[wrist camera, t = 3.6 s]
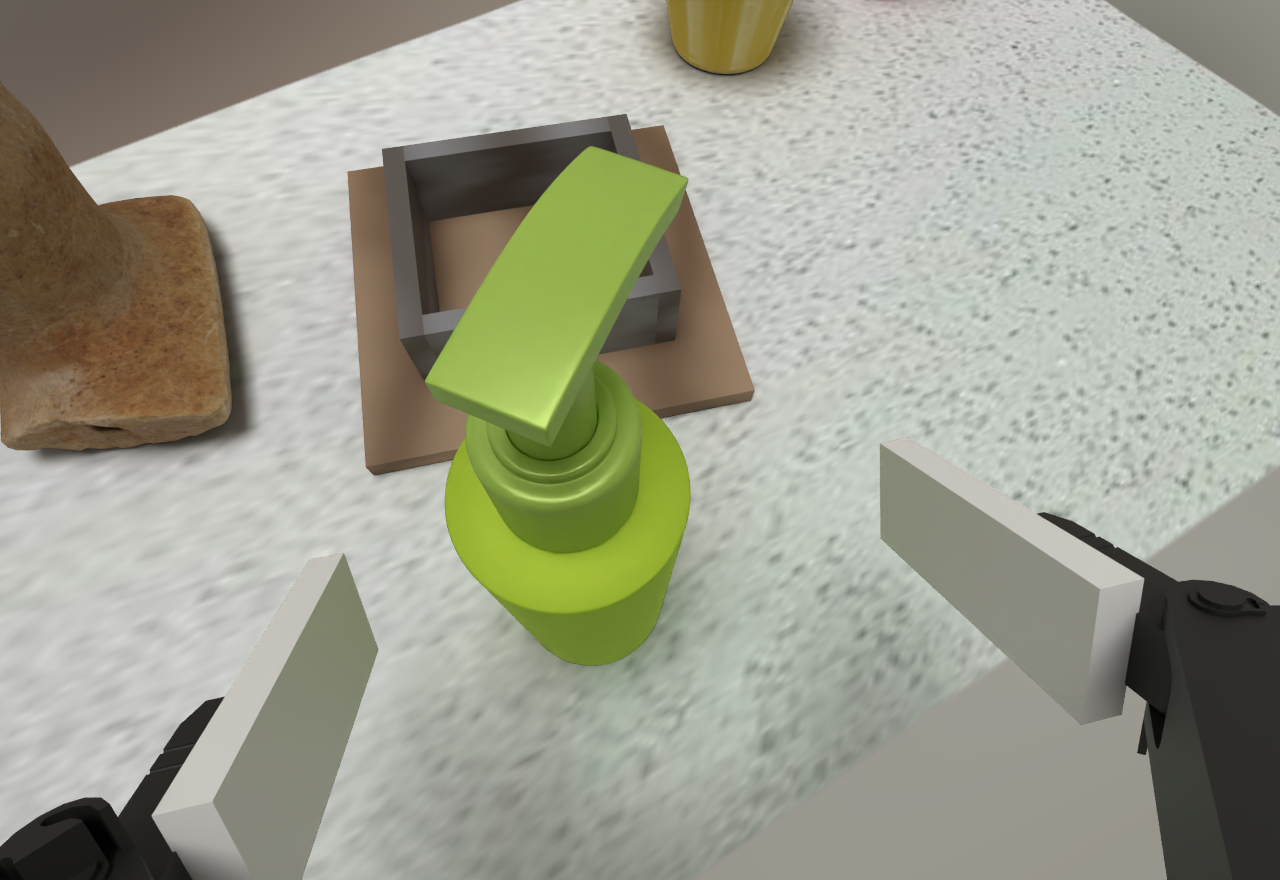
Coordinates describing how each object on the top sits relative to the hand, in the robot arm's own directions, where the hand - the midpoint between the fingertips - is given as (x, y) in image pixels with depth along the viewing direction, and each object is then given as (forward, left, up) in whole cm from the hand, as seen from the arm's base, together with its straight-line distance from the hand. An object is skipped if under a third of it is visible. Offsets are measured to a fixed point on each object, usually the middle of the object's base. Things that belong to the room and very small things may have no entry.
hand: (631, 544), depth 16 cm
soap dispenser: (-1, +2, -13) cm, 13 cm away
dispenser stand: (-1, +18, -12) cm, 22 cm away
